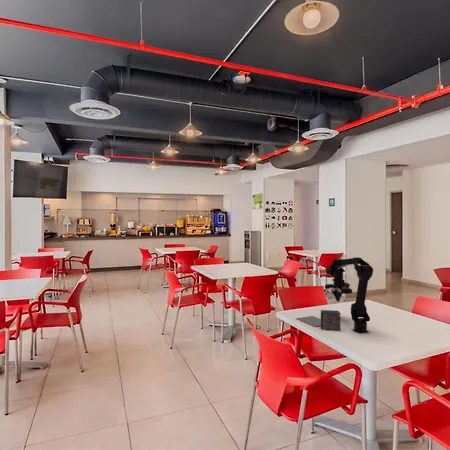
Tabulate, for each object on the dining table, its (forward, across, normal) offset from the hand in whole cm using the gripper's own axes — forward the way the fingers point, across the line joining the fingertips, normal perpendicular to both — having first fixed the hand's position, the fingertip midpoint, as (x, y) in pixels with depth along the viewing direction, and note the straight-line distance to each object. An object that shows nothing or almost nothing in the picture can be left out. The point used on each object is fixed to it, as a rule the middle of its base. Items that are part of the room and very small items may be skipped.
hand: (337, 301), depth 215 cm
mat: (+12, +4, +17) cm, 21 cm away
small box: (+12, -11, +17) cm, 24 cm away
